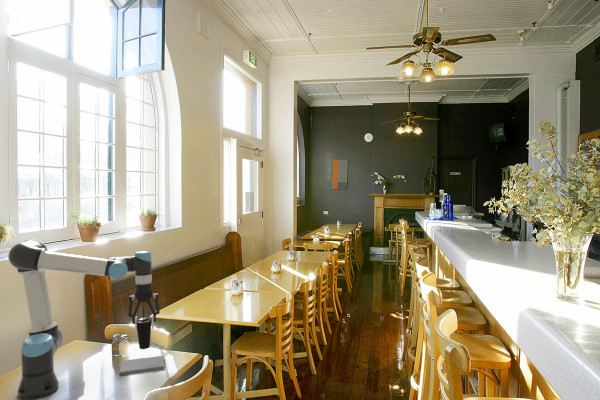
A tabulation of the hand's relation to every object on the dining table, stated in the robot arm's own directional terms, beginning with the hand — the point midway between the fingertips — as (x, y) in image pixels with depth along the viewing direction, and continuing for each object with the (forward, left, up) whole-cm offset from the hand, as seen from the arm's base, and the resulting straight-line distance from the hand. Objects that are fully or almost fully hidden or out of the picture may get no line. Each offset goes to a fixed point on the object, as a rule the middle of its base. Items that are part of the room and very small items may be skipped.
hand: (144, 329), depth 210 cm
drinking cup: (0, 0, -9) cm, 9 cm away
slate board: (-1, 0, -18) cm, 18 cm away
